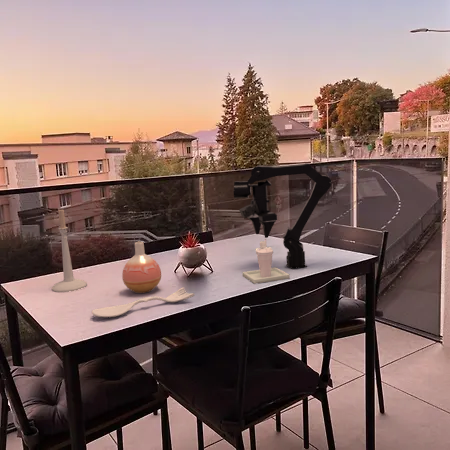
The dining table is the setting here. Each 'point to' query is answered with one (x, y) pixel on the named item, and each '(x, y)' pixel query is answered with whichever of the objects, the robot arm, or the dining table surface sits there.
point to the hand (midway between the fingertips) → (261, 236)
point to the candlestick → (66, 263)
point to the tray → (256, 277)
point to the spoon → (124, 308)
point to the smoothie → (265, 261)
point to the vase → (141, 271)
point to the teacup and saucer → (262, 246)
